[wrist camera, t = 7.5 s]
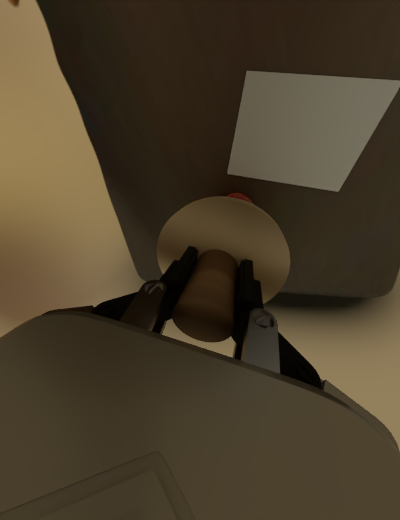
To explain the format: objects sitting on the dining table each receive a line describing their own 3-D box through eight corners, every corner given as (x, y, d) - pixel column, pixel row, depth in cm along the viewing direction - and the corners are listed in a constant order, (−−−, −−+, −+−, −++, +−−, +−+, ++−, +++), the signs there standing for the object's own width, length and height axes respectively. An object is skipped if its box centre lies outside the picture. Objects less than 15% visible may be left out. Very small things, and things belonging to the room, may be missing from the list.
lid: (161, 184, 11) (87, 205, 6) (316, 212, 9) (394, 271, 4) (163, 288, 16) (127, 343, 11) (259, 315, 15) (266, 391, 10)
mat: (246, 73, 17) (246, 70, 17) (398, 83, 15) (403, 80, 15) (227, 173, 23) (227, 173, 23) (336, 190, 21) (338, 191, 21)
